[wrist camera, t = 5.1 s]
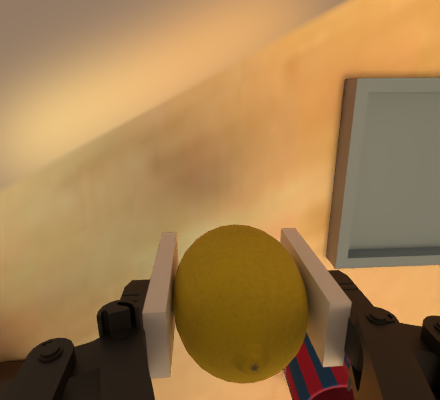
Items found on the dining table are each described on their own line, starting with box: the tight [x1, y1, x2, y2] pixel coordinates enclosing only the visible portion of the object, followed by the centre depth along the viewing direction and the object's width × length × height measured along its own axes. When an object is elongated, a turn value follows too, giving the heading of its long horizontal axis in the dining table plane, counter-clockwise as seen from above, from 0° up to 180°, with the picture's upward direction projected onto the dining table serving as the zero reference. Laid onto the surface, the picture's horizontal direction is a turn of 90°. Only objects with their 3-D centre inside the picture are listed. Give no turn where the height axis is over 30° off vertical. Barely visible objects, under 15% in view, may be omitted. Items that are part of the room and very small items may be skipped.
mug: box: [283, 332, 355, 400], centre depth 31 cm, size 7×10×7 cm
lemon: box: [172, 225, 309, 383], centre depth 14 cm, size 6×6×8 cm
